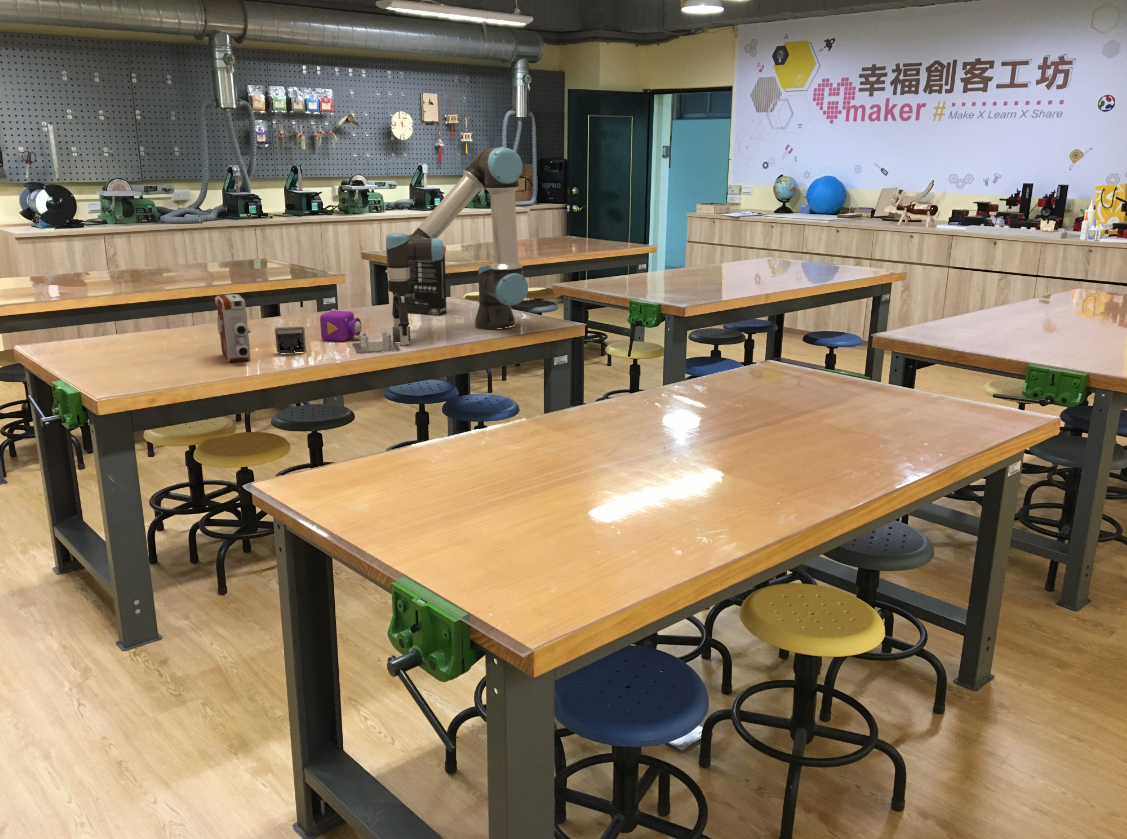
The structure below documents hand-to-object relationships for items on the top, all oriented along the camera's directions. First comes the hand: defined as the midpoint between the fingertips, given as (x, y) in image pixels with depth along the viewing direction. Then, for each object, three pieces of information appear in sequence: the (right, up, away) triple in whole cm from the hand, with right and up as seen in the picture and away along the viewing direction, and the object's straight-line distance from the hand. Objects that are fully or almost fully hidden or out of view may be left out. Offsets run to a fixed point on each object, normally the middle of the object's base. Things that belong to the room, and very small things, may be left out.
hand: (401, 340), depth 314 cm
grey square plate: (-7, -3, -10) cm, 13 cm away
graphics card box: (0, +16, +53) cm, 55 cm away
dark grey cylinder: (0, 0, 0) cm, 0 cm away
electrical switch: (-32, -6, -19) cm, 38 cm away
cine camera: (-47, -9, -28) cm, 55 cm away
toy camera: (-21, +1, +3) cm, 21 cm away
